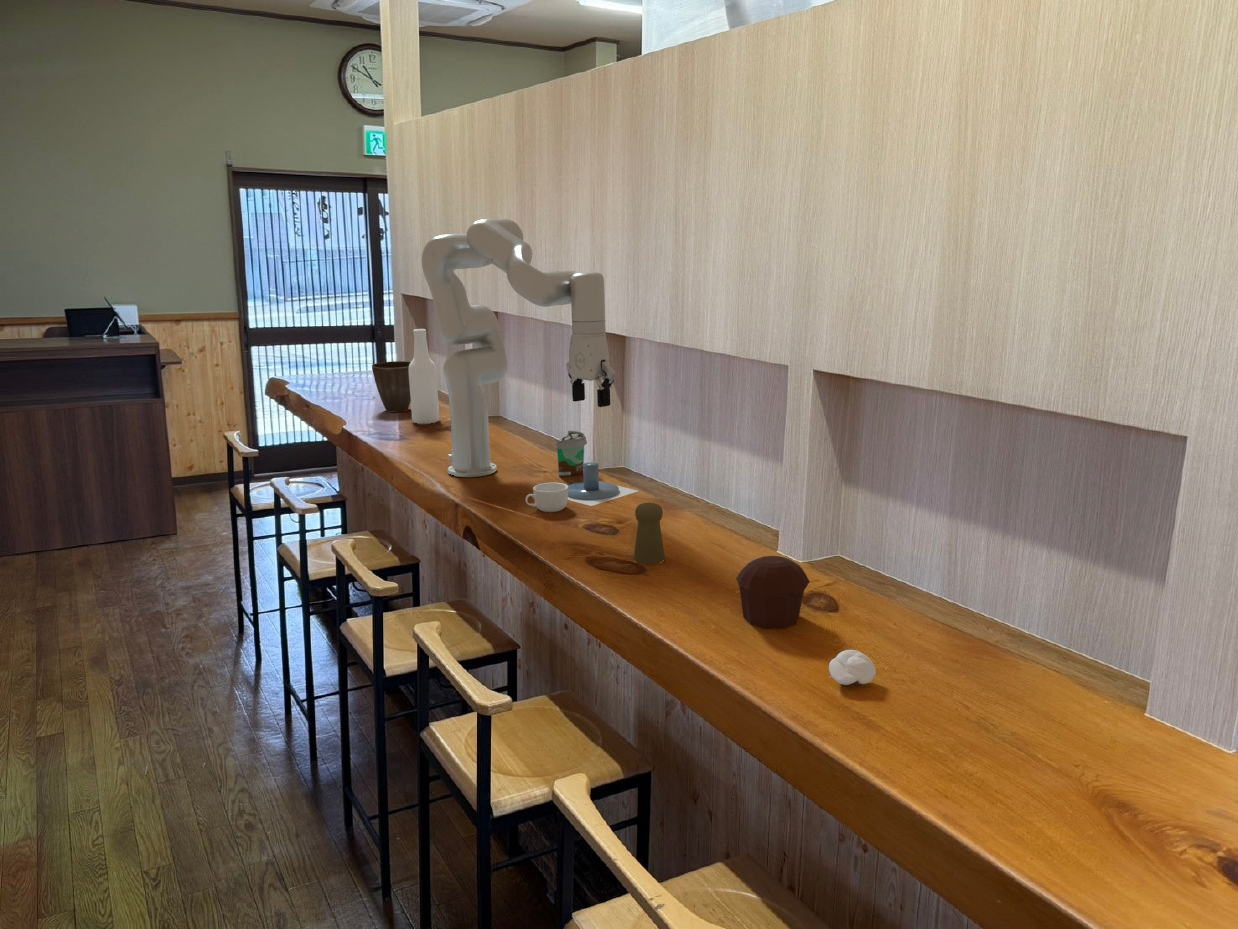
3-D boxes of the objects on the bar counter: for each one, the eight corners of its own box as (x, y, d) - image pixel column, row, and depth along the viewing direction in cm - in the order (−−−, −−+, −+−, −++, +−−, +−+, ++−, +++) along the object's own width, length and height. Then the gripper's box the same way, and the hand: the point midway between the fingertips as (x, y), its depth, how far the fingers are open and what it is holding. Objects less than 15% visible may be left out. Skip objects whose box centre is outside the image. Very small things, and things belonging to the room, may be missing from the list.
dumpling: (856, 670, 135) (858, 644, 134) (883, 685, 131) (884, 658, 130) (819, 682, 132) (820, 655, 131) (844, 697, 128) (845, 671, 127)
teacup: (560, 503, 217) (560, 480, 215) (574, 512, 210) (573, 488, 209) (519, 509, 213) (518, 486, 211) (532, 518, 206) (531, 495, 205)
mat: (543, 494, 224) (543, 493, 224) (591, 480, 235) (591, 479, 235) (591, 507, 213) (591, 506, 213) (639, 492, 224) (639, 491, 224)
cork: (668, 563, 178) (667, 507, 175) (636, 566, 177) (635, 510, 174) (661, 552, 184) (661, 498, 181) (630, 555, 183) (630, 500, 180)
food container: (581, 480, 235) (580, 441, 233) (557, 479, 236) (556, 440, 234) (592, 468, 247) (591, 430, 244) (569, 467, 248) (568, 430, 245)
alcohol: (411, 420, 310) (404, 328, 302) (438, 418, 312) (432, 327, 305) (413, 425, 302) (406, 331, 294) (441, 423, 304) (435, 330, 297)
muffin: (751, 636, 146) (753, 576, 144) (724, 609, 157) (725, 552, 154) (820, 626, 150) (823, 567, 147) (789, 600, 160) (791, 544, 157)
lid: (552, 492, 224) (551, 465, 222) (591, 481, 233) (591, 454, 231) (591, 503, 215) (590, 474, 213) (630, 491, 224) (629, 463, 222)
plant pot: (428, 407, 330) (425, 362, 326) (402, 415, 317) (398, 368, 313) (393, 405, 336) (389, 360, 332) (366, 412, 323) (362, 366, 319)
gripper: (553, 327, 216) (556, 400, 221) (598, 332, 203) (600, 410, 207) (579, 324, 221) (582, 396, 225) (625, 329, 208) (627, 406, 212)
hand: (591, 403), depth 216 cm, fingers open, 9 cm apart
